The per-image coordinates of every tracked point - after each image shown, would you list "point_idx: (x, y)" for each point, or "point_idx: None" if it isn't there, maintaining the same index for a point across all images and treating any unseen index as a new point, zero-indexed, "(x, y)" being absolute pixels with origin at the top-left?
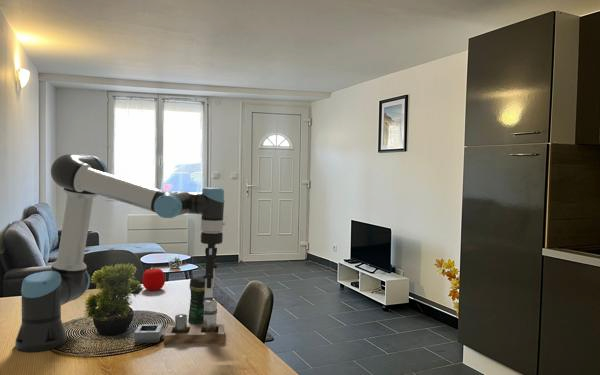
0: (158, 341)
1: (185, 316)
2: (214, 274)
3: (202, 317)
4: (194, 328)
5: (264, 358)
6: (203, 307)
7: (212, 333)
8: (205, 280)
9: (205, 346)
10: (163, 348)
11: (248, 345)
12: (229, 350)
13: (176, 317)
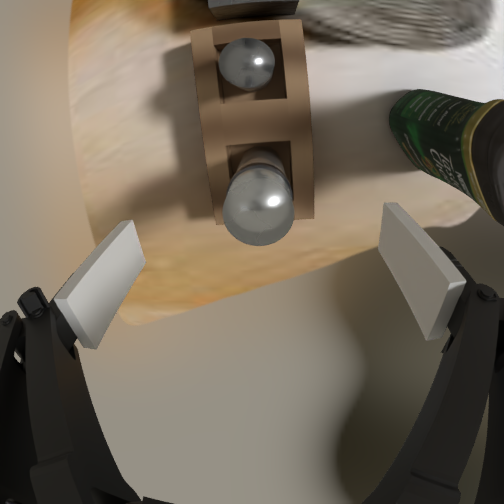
0: (214, 16)
1: (238, 82)
2: (410, 306)
3: (403, 137)
4: (269, 116)
5: (158, 300)
6: (422, 147)
7: (218, 187)
8: (63, 289)
9: None
10: (189, 41)
11: (227, 271)
12: (188, 228)
13: (225, 47)
